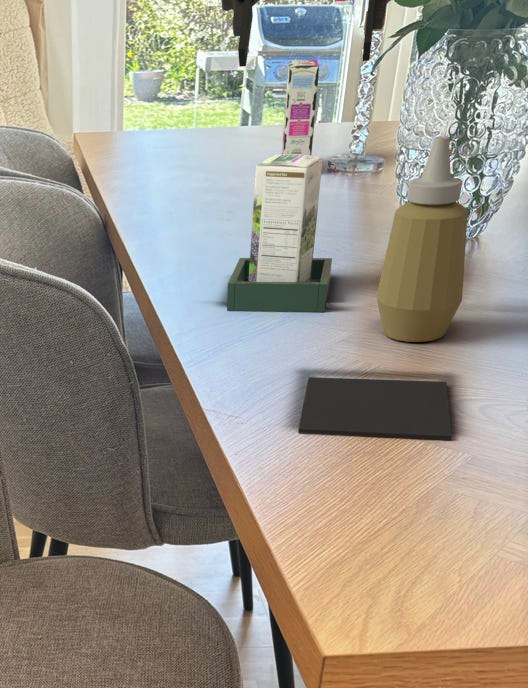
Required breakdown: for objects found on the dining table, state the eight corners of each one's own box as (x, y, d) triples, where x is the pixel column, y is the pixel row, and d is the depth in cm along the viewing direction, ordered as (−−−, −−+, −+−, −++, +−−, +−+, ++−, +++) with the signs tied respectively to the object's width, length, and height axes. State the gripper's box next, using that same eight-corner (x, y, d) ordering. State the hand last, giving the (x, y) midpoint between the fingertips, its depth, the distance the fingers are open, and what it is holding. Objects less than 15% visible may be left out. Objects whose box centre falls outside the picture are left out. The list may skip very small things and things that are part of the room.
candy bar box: (311, 176, 167) (320, 64, 157) (281, 177, 168) (288, 66, 158) (309, 163, 176) (317, 57, 166) (280, 165, 177) (287, 59, 167)
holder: (329, 284, 116) (332, 258, 114) (324, 312, 108) (327, 284, 106) (238, 283, 119) (239, 257, 117) (226, 310, 111) (227, 283, 109)
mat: (445, 385, 89) (446, 381, 88) (451, 440, 79) (452, 436, 79) (308, 381, 92) (308, 376, 92) (298, 433, 82) (298, 428, 82)
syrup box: (262, 288, 117) (269, 153, 108) (312, 292, 114) (323, 154, 106) (246, 302, 112) (253, 163, 104) (297, 306, 110) (308, 164, 102)
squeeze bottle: (355, 337, 101) (377, 142, 90) (399, 317, 105) (425, 128, 94) (428, 353, 95) (460, 148, 85) (471, 331, 100) (506, 133, 89)
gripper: (434, -91, 114) (417, 74, 111) (217, -73, 121) (195, 83, 118) (443, -153, 107) (425, 22, 104) (212, -130, 113) (188, 35, 110)
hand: (303, 55), depth 111 cm, fingers open, 13 cm apart
